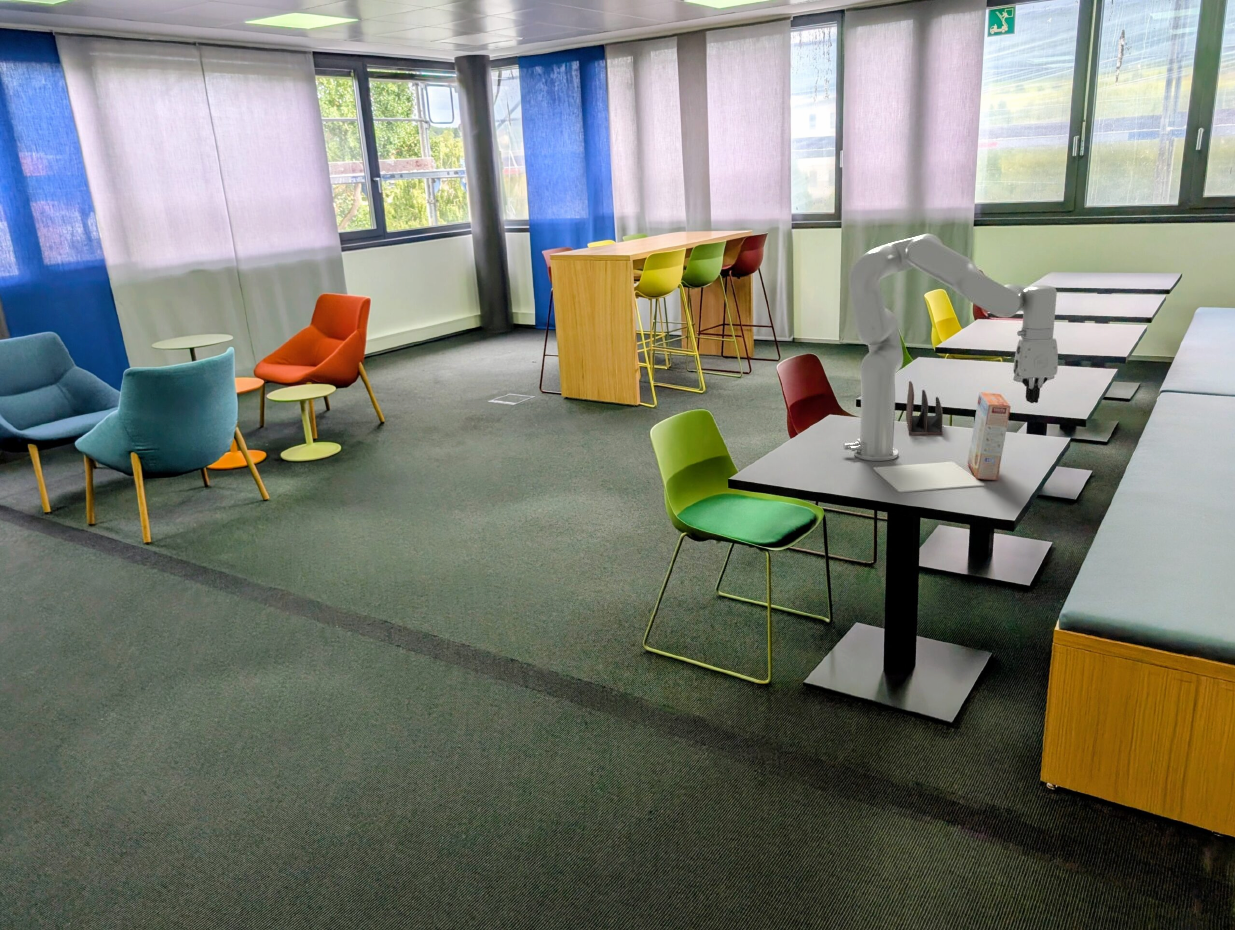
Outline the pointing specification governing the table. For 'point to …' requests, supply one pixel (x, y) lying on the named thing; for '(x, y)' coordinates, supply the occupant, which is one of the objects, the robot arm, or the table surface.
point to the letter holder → (923, 416)
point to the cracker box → (988, 436)
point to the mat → (927, 477)
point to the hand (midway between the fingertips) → (1032, 401)
